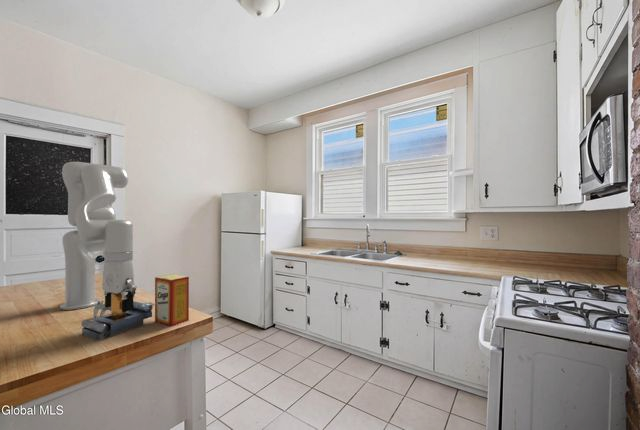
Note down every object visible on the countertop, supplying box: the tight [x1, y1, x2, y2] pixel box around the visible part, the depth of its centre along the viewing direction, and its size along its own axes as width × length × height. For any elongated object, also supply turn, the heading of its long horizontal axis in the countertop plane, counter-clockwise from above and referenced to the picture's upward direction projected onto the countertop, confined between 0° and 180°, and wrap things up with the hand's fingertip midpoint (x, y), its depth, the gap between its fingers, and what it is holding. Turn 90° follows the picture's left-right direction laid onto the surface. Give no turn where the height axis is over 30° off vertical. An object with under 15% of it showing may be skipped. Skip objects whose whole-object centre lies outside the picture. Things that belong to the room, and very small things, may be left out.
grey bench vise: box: [81, 300, 154, 341], centre depth 93 cm, size 10×16×6 cm, turn 154°
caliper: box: [93, 300, 155, 319], centre depth 110 cm, size 20×1×6 cm, turn 142°
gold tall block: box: [110, 292, 126, 320], centre depth 93 cm, size 4×4×12 cm
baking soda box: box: [154, 273, 190, 328], centre depth 99 cm, size 10×6×16 cm
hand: (119, 308), depth 93 cm, fingers open, 9 cm apart
